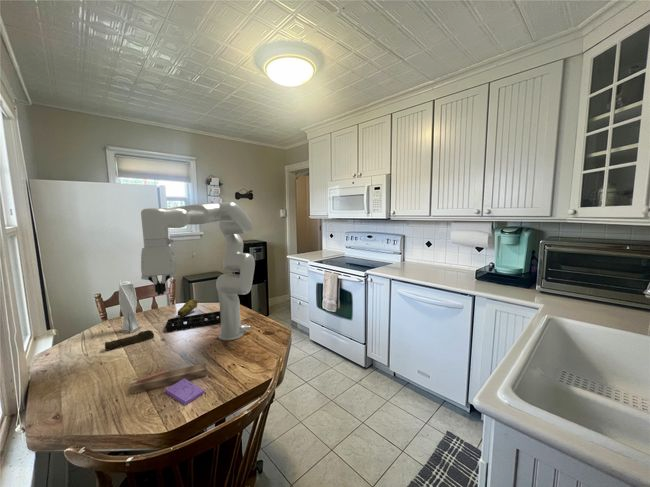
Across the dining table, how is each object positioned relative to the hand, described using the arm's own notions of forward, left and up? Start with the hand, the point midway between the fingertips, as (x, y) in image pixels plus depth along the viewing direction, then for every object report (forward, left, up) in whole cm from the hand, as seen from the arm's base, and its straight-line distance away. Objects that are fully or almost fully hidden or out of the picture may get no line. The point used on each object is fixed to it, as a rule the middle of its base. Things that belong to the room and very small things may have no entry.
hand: (161, 293), depth 96 cm
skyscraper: (+24, -59, -33) cm, 72 cm away
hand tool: (+20, -40, -34) cm, 56 cm away
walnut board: (-1, +1, -33) cm, 33 cm away
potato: (-3, -71, -33) cm, 79 cm away
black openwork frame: (-8, -52, -34) cm, 63 cm away
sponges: (-6, +11, -34) cm, 36 cm away
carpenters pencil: (+5, +1, -31) cm, 31 cm away
